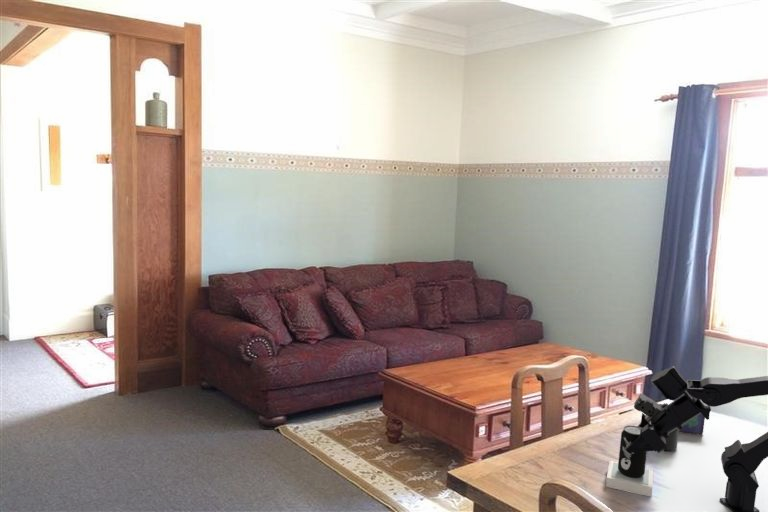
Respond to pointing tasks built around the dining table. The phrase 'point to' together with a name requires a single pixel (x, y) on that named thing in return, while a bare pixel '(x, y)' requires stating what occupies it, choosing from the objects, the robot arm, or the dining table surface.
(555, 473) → the dining table surface
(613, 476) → the trivet
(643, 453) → the beverage can
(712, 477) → the dining table surface
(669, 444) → the ink bottle
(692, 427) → the flask
